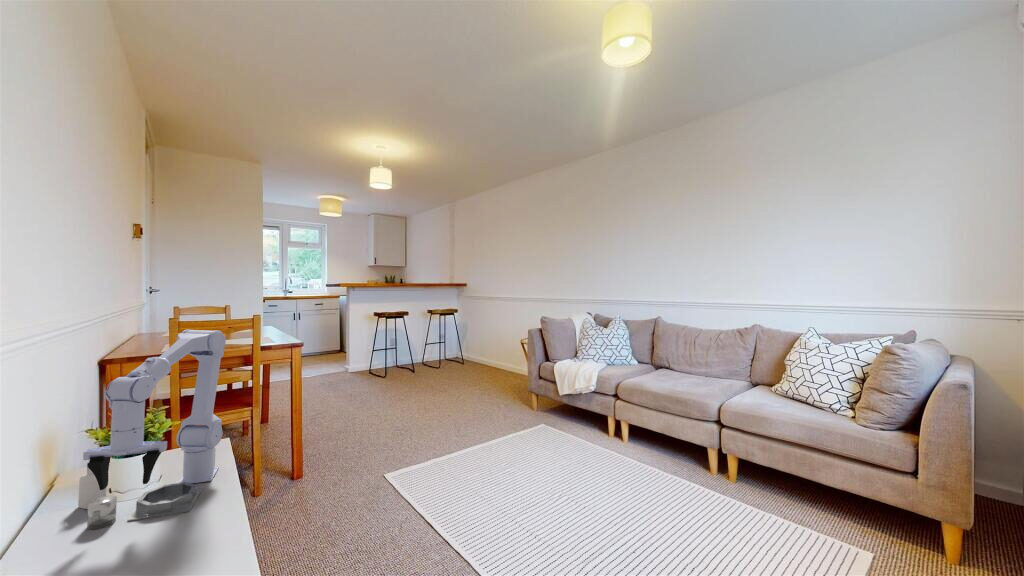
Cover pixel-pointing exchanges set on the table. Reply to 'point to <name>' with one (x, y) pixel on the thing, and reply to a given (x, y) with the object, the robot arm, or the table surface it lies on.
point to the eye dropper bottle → (89, 489)
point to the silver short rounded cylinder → (101, 512)
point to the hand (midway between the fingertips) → (125, 485)
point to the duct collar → (166, 501)
